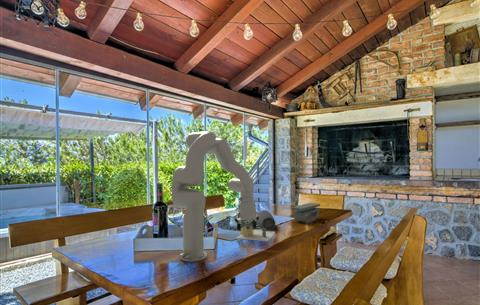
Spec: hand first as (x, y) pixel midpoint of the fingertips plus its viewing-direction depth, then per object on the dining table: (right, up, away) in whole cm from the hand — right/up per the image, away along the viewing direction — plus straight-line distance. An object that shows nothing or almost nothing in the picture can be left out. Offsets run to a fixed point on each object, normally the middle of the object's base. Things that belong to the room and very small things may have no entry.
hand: (246, 229), depth 165 cm
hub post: (0, -3, 0) cm, 3 cm away
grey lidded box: (+44, -5, +41) cm, 60 cm away
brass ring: (0, -3, 0) cm, 3 cm away
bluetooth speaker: (+13, -5, +21) cm, 26 cm away
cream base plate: (+6, -5, +1) cm, 7 cm away
